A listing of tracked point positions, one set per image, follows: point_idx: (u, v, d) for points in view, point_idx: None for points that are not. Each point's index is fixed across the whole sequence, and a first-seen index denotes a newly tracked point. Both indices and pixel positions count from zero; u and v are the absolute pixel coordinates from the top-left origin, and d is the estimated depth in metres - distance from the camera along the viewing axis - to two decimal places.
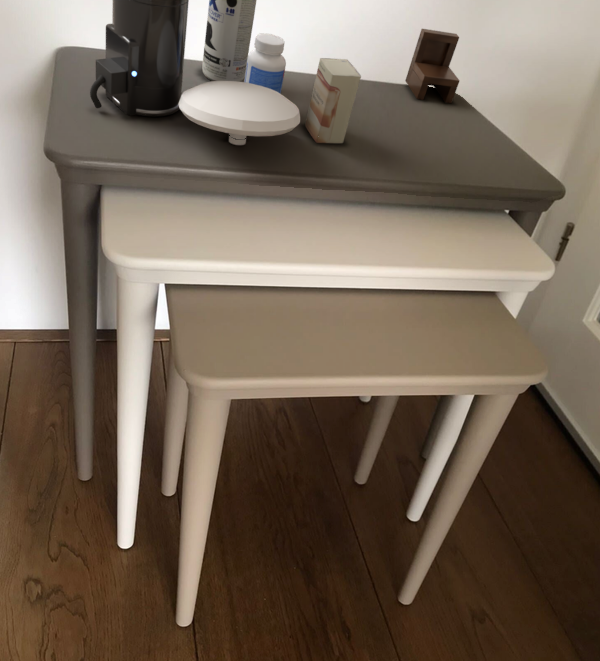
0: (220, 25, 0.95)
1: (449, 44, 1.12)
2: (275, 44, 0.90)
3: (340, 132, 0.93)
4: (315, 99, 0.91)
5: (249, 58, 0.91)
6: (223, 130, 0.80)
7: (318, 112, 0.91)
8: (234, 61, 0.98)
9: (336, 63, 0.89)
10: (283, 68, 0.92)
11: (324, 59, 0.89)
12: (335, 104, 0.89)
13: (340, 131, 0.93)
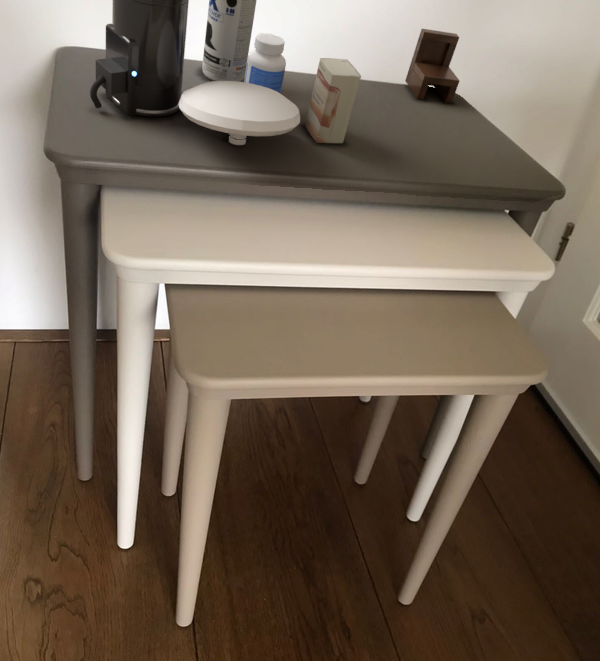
0: (220, 25, 0.95)
1: (449, 44, 1.12)
2: (275, 44, 0.90)
3: (340, 132, 0.93)
4: (315, 99, 0.91)
5: (249, 58, 0.91)
6: (223, 130, 0.80)
7: (318, 112, 0.91)
8: (234, 61, 0.98)
9: (336, 63, 0.89)
10: (283, 68, 0.92)
11: (324, 59, 0.89)
12: (335, 104, 0.89)
13: (340, 131, 0.93)
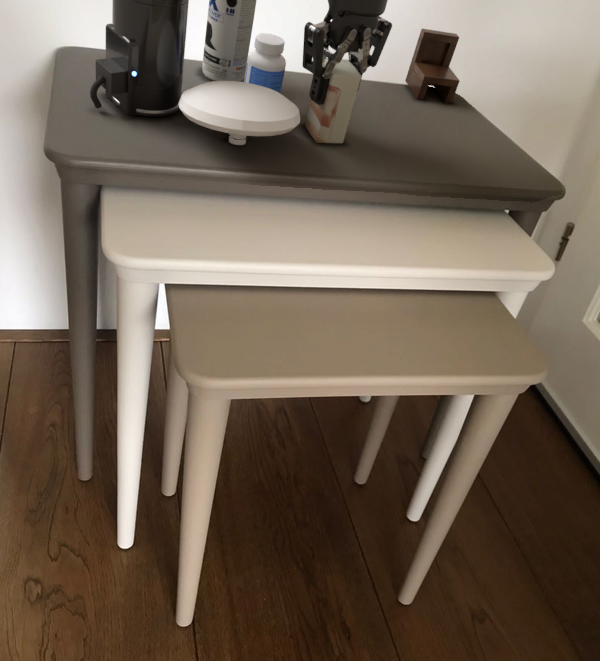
0: (220, 25, 0.95)
1: (449, 44, 1.12)
2: (275, 44, 0.90)
3: (340, 132, 0.93)
4: None
5: (249, 58, 0.91)
6: (223, 130, 0.80)
7: (318, 112, 0.91)
8: (234, 61, 0.98)
9: None
10: (283, 68, 0.92)
11: None
12: (335, 104, 0.89)
13: (341, 131, 0.93)
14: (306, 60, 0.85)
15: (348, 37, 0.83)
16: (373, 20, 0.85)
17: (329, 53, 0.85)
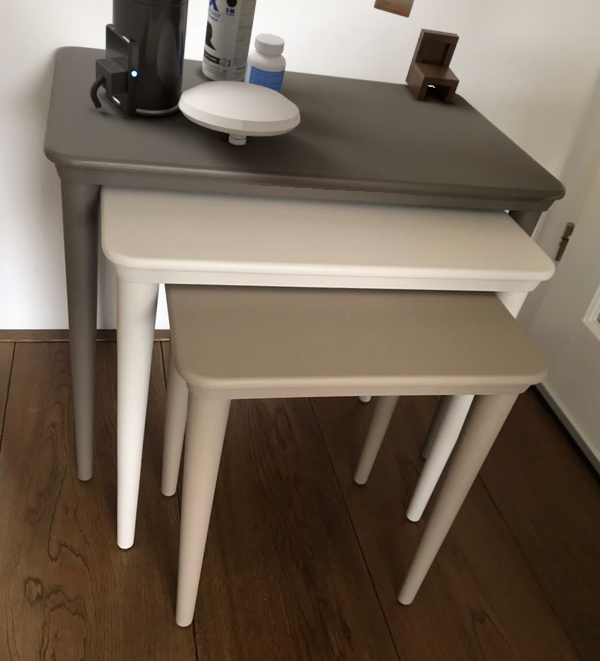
0: (220, 25, 0.95)
1: (449, 44, 1.12)
2: (275, 44, 0.90)
3: None
4: None
5: (249, 58, 0.91)
6: (223, 130, 0.80)
7: None
8: (234, 61, 0.98)
9: None
10: (283, 68, 0.92)
11: None
12: None
13: None
14: None
15: None
16: None
17: None
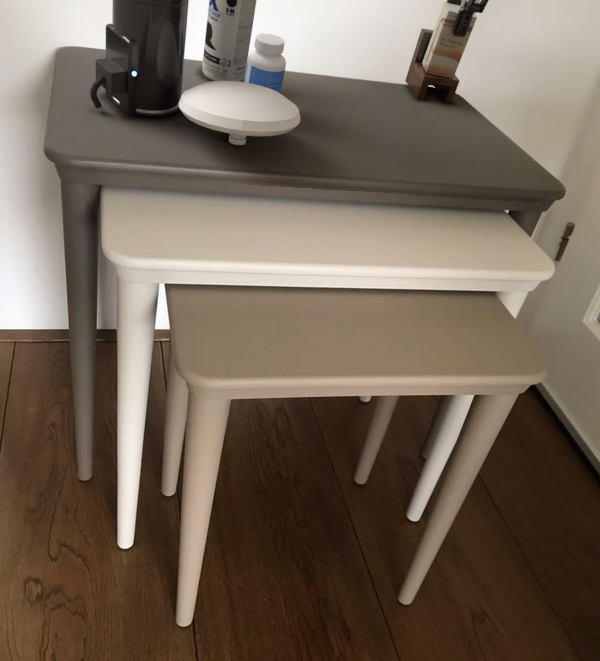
0: (220, 25, 0.95)
1: None
2: (275, 44, 0.90)
3: None
4: (447, 45, 1.06)
5: (249, 58, 0.91)
6: (223, 130, 0.80)
7: (454, 54, 1.07)
8: (234, 61, 0.98)
9: (455, 8, 1.05)
10: (283, 68, 0.92)
11: (449, 9, 1.03)
12: None
13: None
14: None
15: None
16: None
17: None
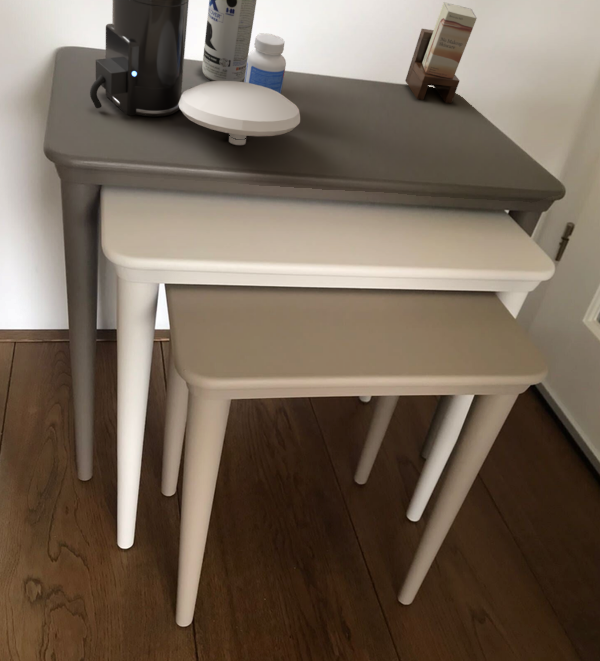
0: (220, 25, 0.95)
1: None
2: (275, 44, 0.90)
3: None
4: (447, 45, 1.06)
5: (249, 58, 0.91)
6: (223, 130, 0.80)
7: (454, 54, 1.07)
8: (234, 61, 0.98)
9: (454, 8, 1.05)
10: (283, 68, 0.92)
11: (449, 10, 1.03)
12: None
13: None
14: None
15: None
16: None
17: None
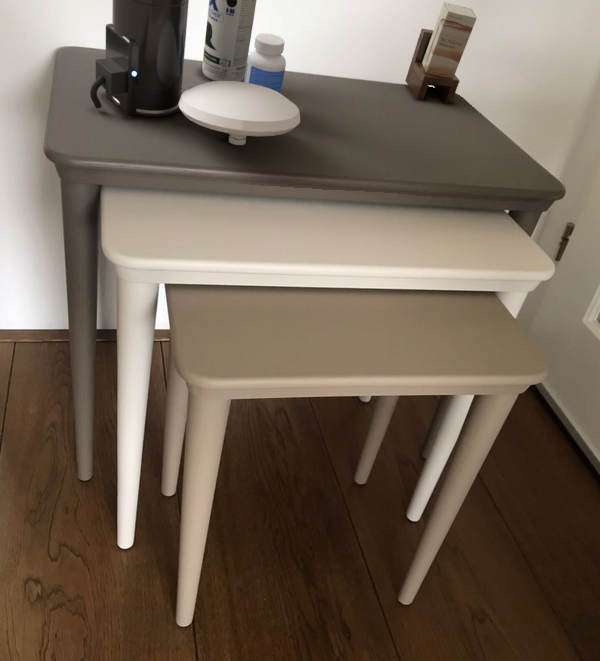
0: (220, 25, 0.95)
1: None
2: (275, 44, 0.90)
3: None
4: (447, 45, 1.06)
5: (249, 58, 0.91)
6: (223, 130, 0.80)
7: (454, 54, 1.07)
8: (234, 61, 0.98)
9: (454, 8, 1.05)
10: (283, 68, 0.92)
11: (449, 10, 1.03)
12: None
13: None
14: None
15: None
16: None
17: None
